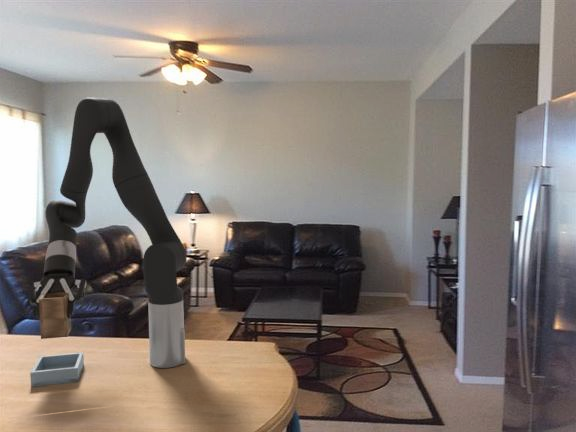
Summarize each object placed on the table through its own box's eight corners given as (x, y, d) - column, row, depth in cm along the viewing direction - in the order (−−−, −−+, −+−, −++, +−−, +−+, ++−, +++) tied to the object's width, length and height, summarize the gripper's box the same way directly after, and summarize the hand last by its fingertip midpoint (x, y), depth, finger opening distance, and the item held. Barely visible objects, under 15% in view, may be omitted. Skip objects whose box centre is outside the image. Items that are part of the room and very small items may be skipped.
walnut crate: (71, 328, 128) (69, 291, 127) (67, 336, 122) (65, 297, 121) (46, 331, 126) (44, 292, 125) (41, 339, 121) (38, 299, 120)
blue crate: (83, 364, 132) (83, 352, 132) (78, 381, 122) (77, 367, 121) (40, 369, 129) (39, 356, 129) (31, 386, 119) (30, 372, 119)
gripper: (28, 254, 128) (19, 312, 117) (87, 252, 131) (83, 308, 121) (33, 270, 133) (25, 327, 123) (90, 267, 137) (87, 322, 127)
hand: (54, 317), depth 122 cm, fingers closed on walnut crate, 6 cm apart
